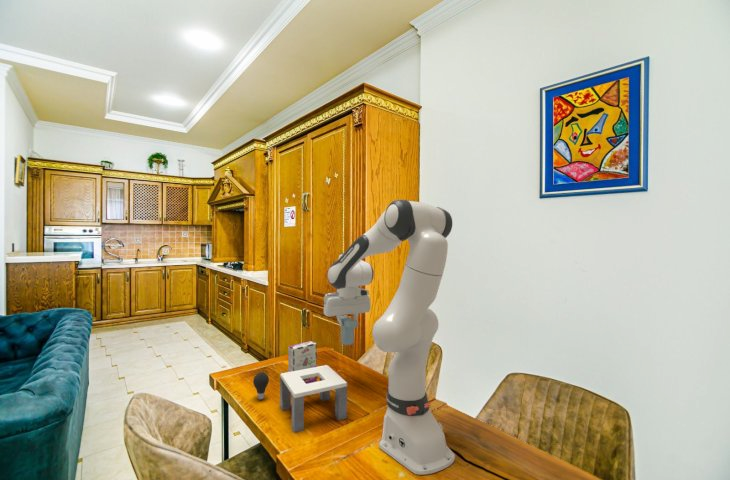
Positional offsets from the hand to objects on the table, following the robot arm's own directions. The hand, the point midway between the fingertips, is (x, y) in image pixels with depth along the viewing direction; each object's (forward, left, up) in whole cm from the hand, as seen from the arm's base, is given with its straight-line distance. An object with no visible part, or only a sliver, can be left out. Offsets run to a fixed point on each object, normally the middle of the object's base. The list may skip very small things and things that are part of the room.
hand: (347, 324), depth 136 cm
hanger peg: (0, 0, -8) cm, 8 cm away
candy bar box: (+10, +16, -25) cm, 31 cm away
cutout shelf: (-14, +20, -25) cm, 35 cm away
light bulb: (+4, +34, -25) cm, 42 cm away
